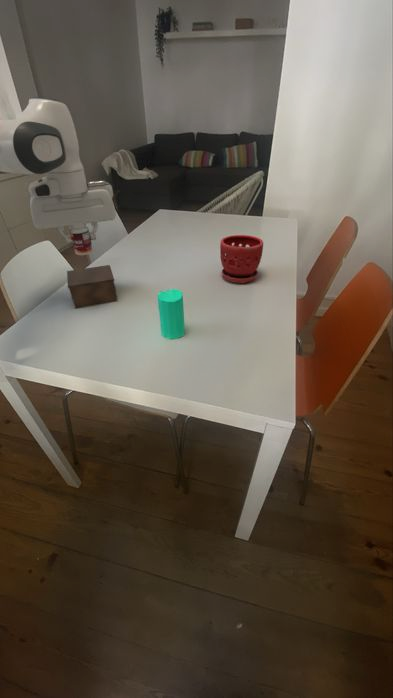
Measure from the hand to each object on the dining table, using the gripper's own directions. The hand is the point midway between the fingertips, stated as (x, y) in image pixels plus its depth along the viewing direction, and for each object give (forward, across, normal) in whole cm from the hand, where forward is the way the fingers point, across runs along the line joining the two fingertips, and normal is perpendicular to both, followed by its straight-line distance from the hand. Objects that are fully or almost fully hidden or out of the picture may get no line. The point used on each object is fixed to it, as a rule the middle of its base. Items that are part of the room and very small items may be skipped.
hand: (81, 241), depth 85 cm
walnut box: (+17, 0, 0) cm, 17 cm away
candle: (+17, -15, +27) cm, 35 cm away
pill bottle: (+3, 0, 0) cm, 3 cm away
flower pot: (+17, -46, +6) cm, 49 cm away
